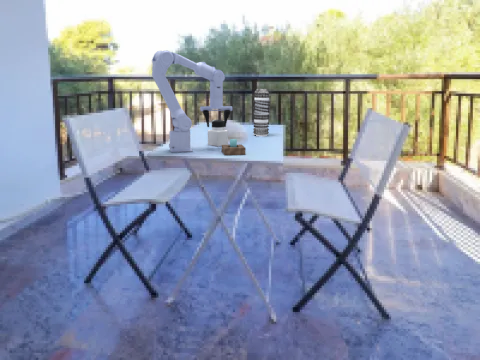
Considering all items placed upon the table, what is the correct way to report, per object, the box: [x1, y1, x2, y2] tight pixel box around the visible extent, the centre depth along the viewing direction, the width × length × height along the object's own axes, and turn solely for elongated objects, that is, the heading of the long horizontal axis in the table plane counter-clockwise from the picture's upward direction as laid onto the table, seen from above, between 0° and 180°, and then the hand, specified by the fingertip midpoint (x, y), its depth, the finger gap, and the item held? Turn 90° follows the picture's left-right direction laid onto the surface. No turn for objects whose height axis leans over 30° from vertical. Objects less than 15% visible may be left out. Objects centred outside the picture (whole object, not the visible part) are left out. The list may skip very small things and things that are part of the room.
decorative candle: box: [252, 88, 271, 137], centre depth 255 cm, size 9×9×25 cm
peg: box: [229, 138, 238, 147], centre depth 205 cm, size 3×3×6 cm
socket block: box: [221, 143, 247, 156], centre depth 205 cm, size 9×9×3 cm
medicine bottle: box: [207, 119, 229, 147], centre depth 225 cm, size 7×7×12 cm
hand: (216, 126), depth 215 cm, fingers open, 7 cm apart
